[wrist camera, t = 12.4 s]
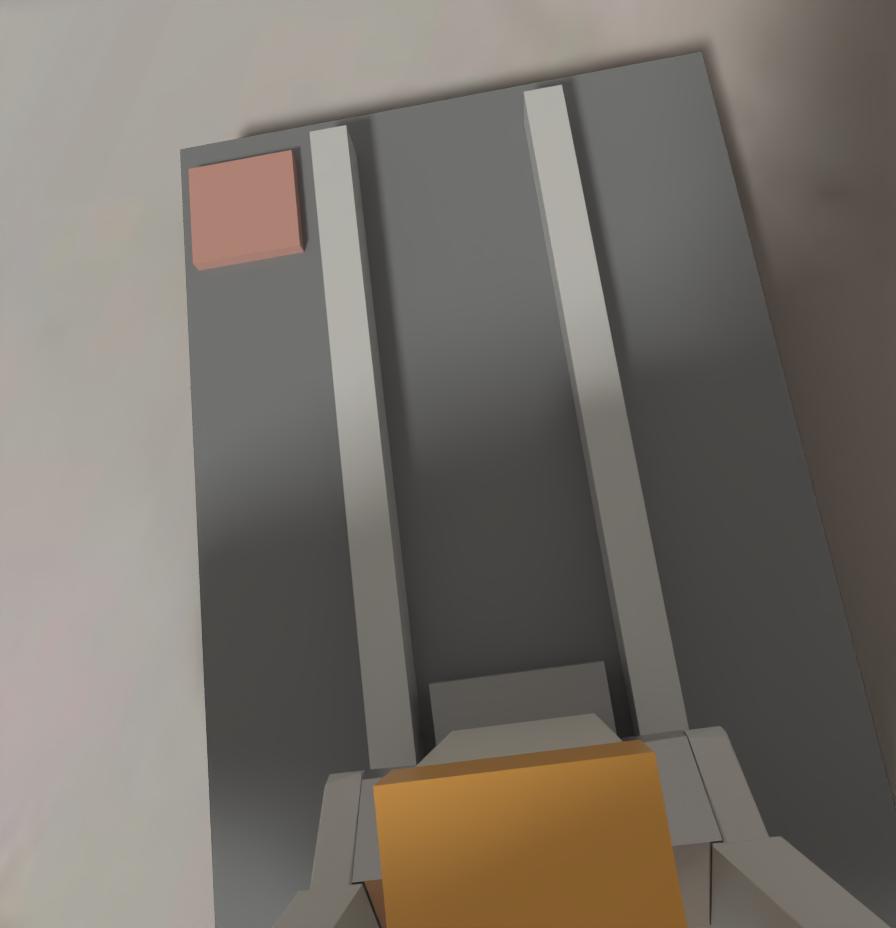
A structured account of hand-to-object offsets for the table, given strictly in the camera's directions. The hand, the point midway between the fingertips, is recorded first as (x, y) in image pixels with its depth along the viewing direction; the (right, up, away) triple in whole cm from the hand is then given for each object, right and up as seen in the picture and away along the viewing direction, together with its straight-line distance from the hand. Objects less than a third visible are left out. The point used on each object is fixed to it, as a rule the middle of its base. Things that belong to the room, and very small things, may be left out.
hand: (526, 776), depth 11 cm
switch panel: (0, +3, +6) cm, 6 cm away
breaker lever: (0, -1, +3) cm, 3 cm away
